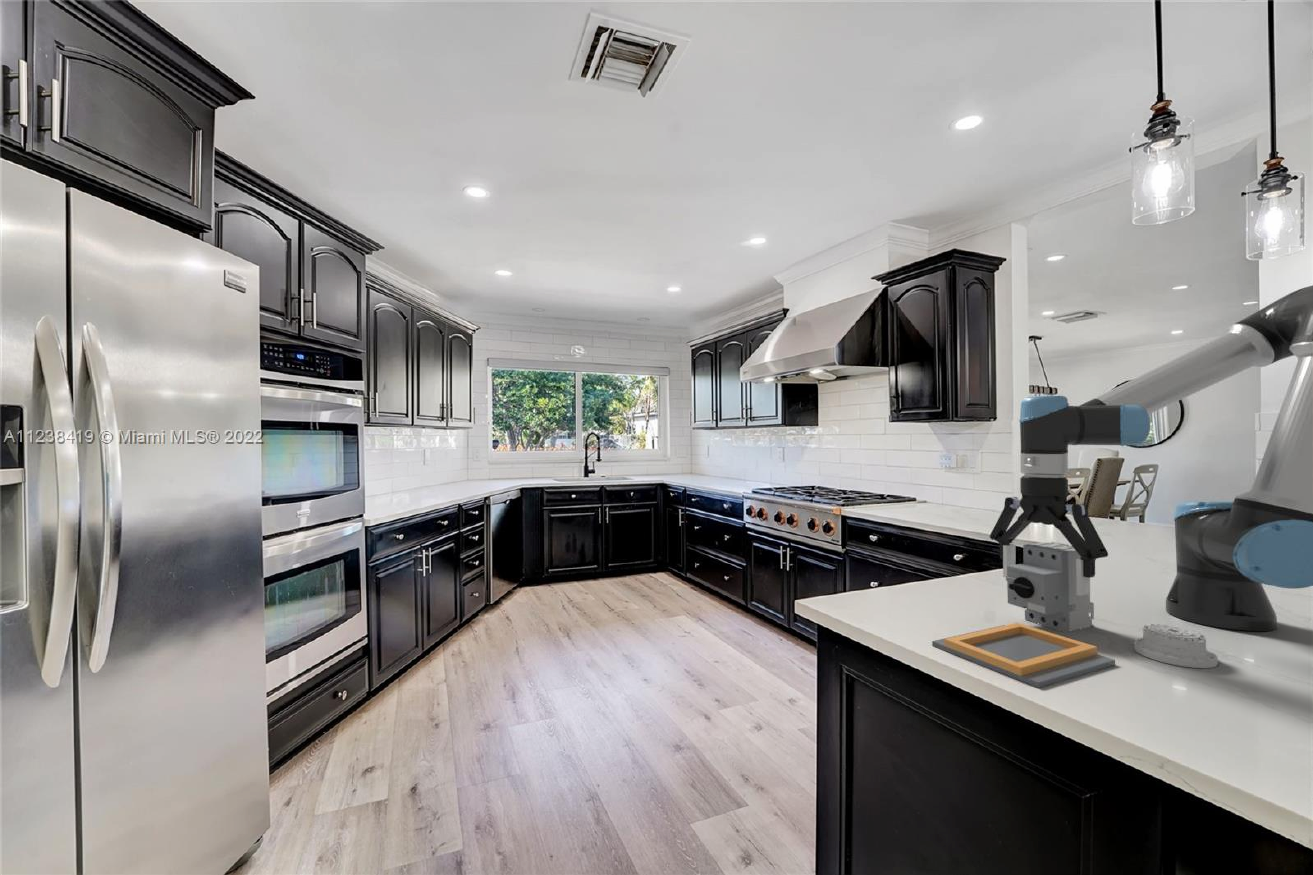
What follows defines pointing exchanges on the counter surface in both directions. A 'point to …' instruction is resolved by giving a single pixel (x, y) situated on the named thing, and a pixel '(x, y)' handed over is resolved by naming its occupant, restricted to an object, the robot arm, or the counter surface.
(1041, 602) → the circuit breaker
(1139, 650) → the mechanical component
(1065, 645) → the base
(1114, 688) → the counter surface
